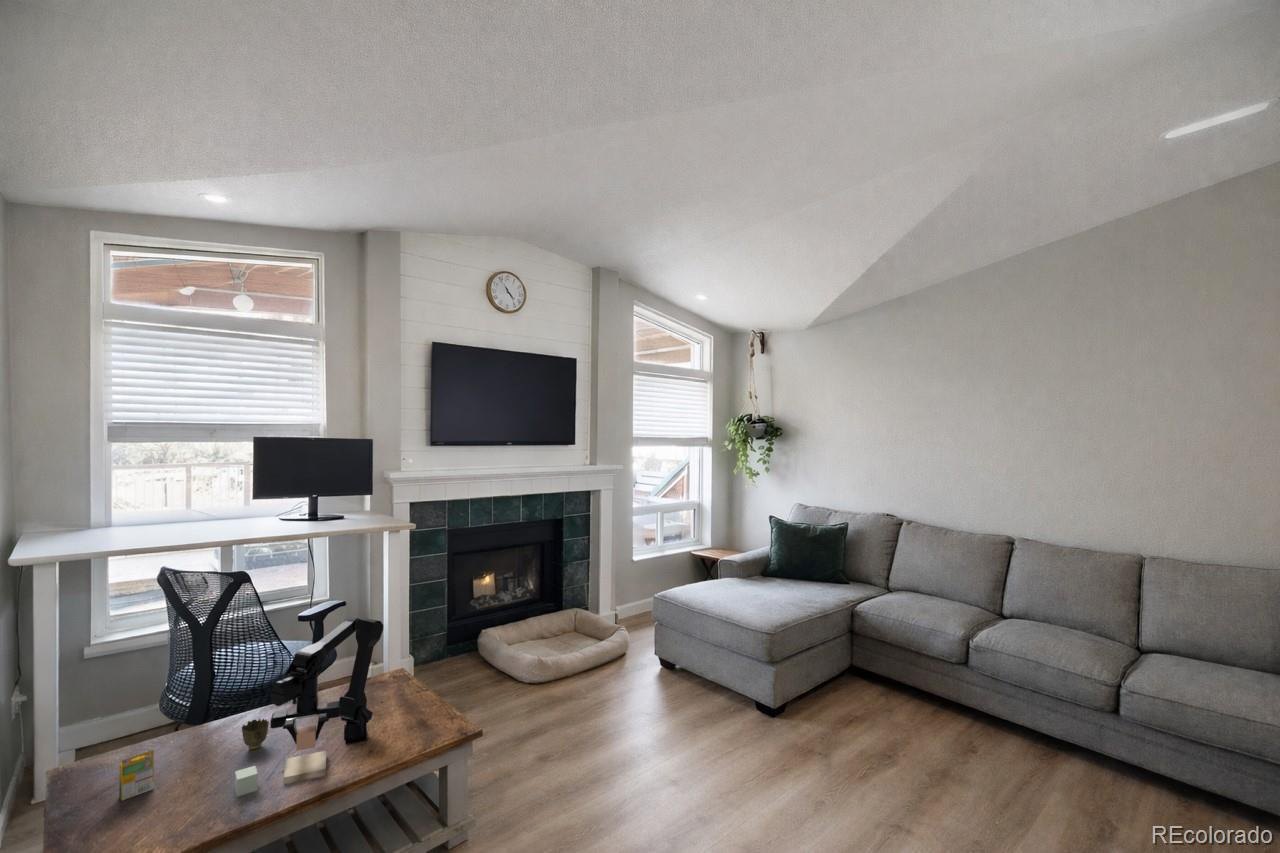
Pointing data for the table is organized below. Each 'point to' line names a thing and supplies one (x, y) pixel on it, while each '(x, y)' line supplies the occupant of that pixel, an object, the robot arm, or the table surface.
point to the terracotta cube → (306, 737)
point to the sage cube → (246, 780)
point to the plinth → (305, 767)
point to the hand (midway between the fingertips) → (306, 741)
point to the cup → (255, 733)
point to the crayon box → (136, 775)
